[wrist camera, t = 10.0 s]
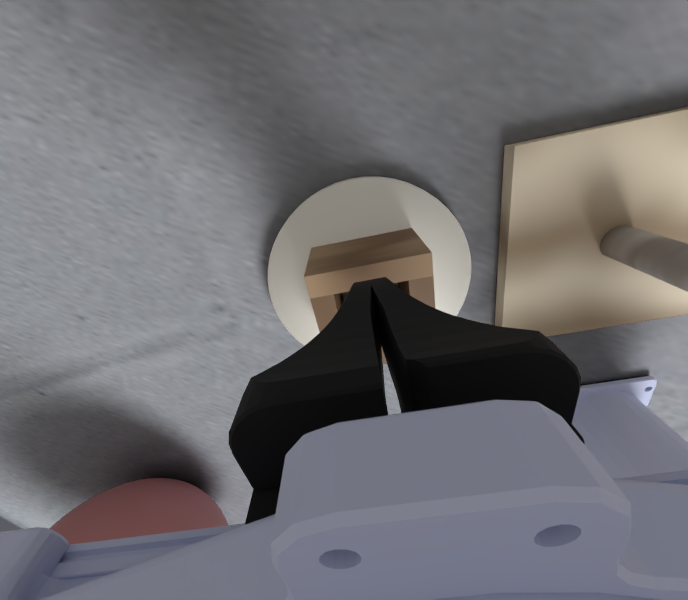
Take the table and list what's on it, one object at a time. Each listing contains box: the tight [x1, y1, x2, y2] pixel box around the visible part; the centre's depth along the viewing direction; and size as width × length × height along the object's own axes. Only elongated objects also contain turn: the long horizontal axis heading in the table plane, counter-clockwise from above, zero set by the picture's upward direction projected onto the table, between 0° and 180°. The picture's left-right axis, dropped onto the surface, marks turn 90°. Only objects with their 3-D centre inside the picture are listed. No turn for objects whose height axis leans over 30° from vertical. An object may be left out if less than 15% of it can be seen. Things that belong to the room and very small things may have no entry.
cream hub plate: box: [268, 176, 471, 346], centre depth 16 cm, size 12×12×6 cm
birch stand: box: [495, 107, 688, 337], centre depth 15 cm, size 12×12×6 cm
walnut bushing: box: [304, 228, 435, 364], centre depth 16 cm, size 6×6×4 cm
